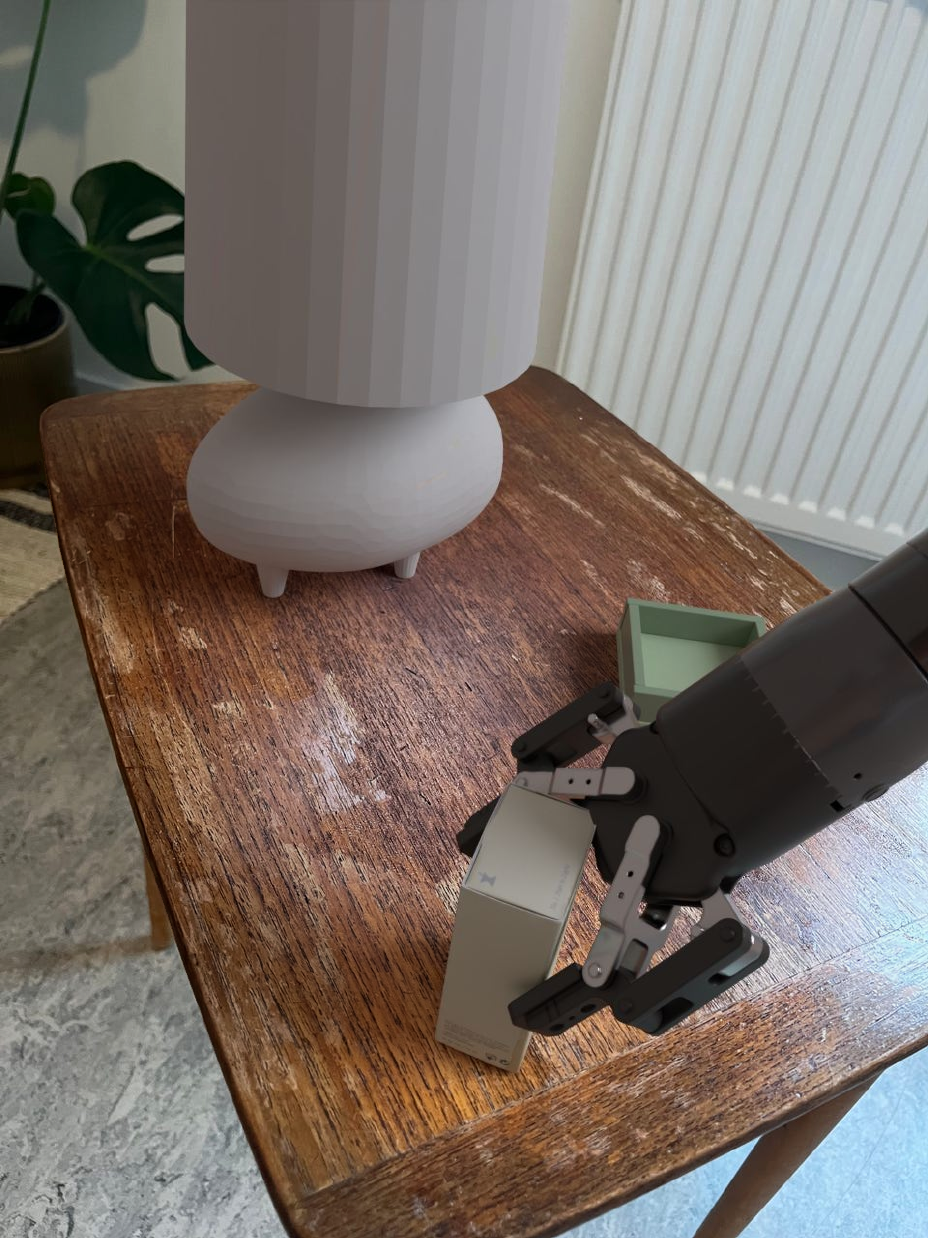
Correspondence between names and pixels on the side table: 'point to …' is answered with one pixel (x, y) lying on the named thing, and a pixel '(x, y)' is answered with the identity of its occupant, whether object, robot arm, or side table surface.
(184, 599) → the side table surface
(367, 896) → the side table surface
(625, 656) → the green open storage bin
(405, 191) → the table lamp
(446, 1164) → the side table surface
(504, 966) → the cosmetic box
